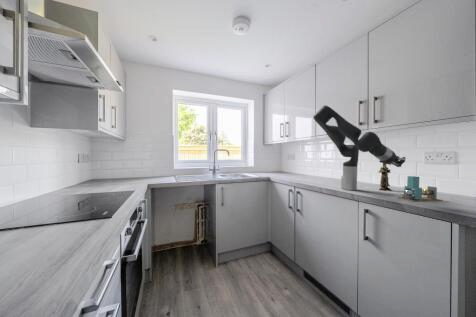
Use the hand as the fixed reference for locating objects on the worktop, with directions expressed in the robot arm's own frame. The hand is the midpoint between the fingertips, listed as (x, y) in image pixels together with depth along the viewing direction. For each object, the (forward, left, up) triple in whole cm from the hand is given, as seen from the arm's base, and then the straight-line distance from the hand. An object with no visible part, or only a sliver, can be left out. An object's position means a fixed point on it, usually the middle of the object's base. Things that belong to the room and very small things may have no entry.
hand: (399, 165), depth 112 cm
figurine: (-20, +27, -20) cm, 39 cm away
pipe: (+6, +9, -20) cm, 23 cm away
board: (+6, +9, -20) cm, 23 cm away
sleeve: (+5, +5, -20) cm, 21 cm away
